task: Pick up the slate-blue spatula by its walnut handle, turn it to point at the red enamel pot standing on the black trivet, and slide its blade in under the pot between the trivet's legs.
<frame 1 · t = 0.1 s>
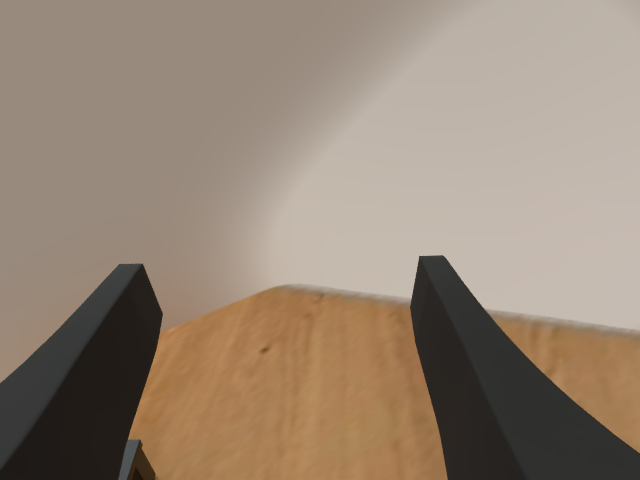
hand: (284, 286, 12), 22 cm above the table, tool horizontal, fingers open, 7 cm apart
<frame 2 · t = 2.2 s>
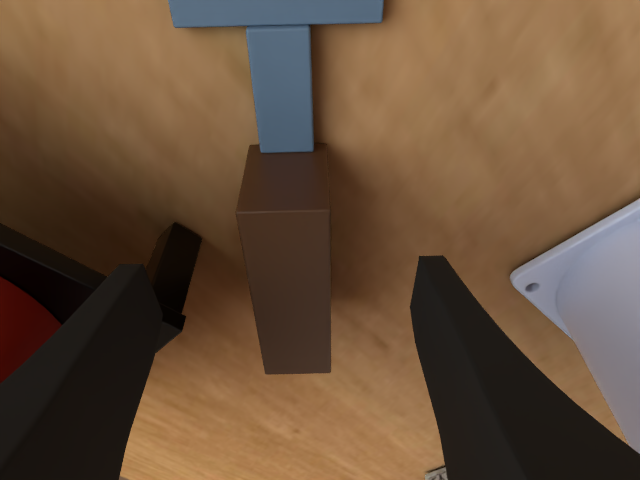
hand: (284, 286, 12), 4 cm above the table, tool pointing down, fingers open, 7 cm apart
statue: (504, 474, 32), on the table
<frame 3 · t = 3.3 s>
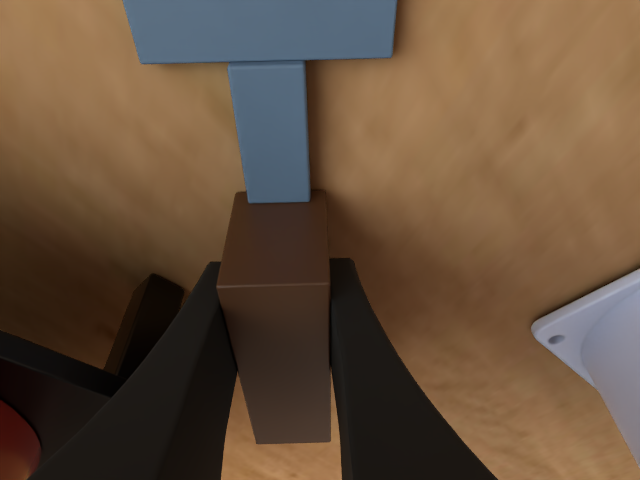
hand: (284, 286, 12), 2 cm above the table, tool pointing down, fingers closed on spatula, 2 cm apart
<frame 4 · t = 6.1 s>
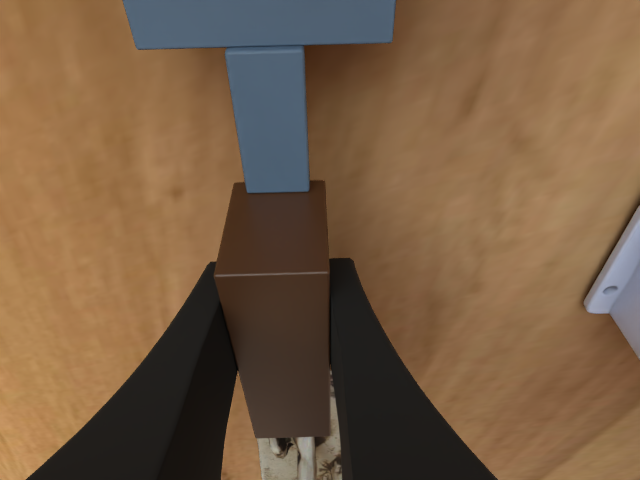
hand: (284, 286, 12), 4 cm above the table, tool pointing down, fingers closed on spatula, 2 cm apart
statue: (324, 413, 25), on the table
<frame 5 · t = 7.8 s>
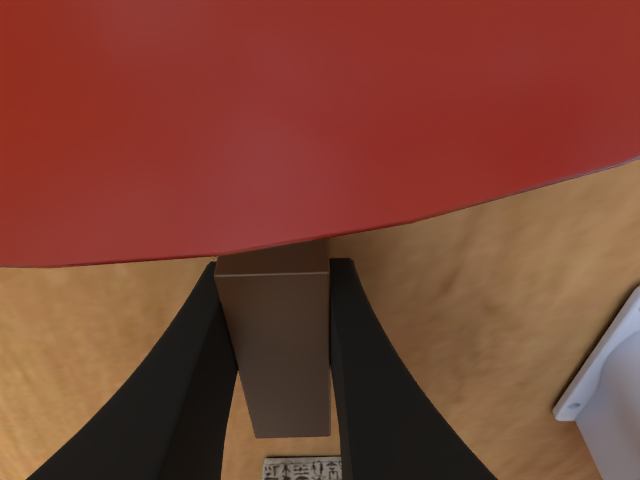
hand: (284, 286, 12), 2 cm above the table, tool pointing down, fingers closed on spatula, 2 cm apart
when the fingers open (2 cm above the table, at t = 8.8 s): spatula stays where it is, on the table.
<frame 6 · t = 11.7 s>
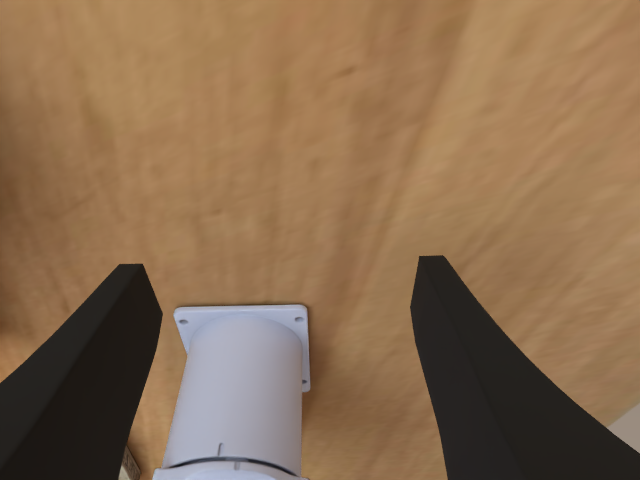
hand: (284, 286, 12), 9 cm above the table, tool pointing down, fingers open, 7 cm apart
statue: (98, 445, 39), on the table
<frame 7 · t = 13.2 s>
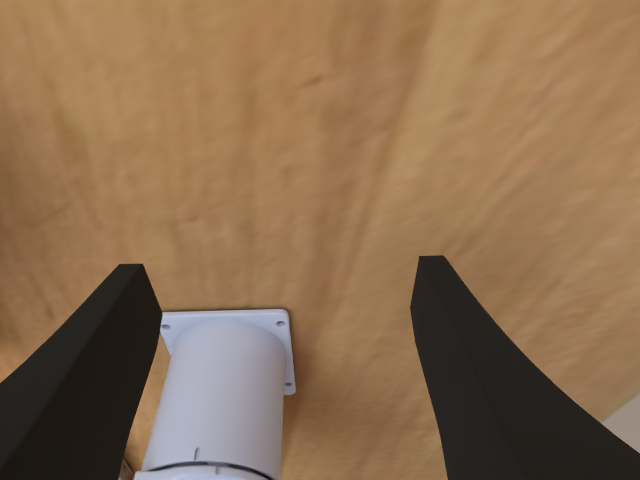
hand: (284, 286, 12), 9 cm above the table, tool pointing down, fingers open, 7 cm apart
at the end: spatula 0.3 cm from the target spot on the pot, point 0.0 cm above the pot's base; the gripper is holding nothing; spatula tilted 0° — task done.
